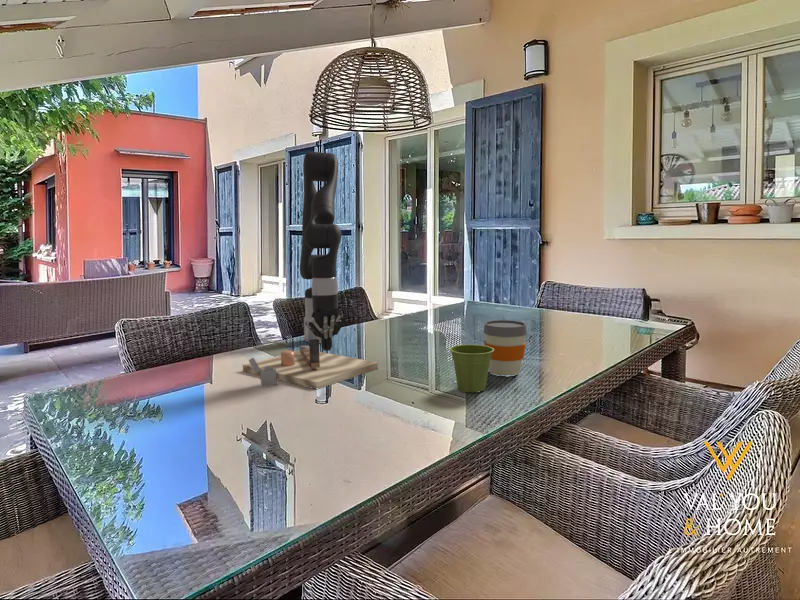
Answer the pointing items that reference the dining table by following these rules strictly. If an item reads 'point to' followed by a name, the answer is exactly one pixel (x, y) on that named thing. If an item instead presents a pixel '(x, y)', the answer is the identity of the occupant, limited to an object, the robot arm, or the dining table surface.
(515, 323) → the reusable coffee cup
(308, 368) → the board
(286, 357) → the peach rounded cube
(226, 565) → the dining table surface
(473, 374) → the plant pot
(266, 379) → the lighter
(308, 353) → the lever
